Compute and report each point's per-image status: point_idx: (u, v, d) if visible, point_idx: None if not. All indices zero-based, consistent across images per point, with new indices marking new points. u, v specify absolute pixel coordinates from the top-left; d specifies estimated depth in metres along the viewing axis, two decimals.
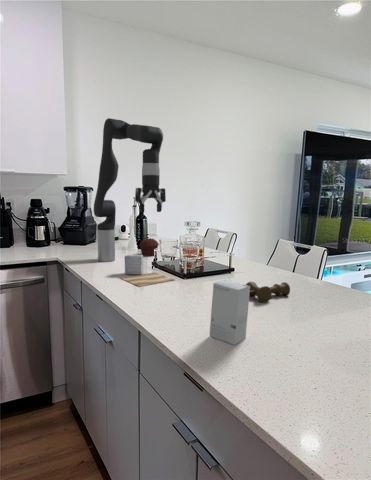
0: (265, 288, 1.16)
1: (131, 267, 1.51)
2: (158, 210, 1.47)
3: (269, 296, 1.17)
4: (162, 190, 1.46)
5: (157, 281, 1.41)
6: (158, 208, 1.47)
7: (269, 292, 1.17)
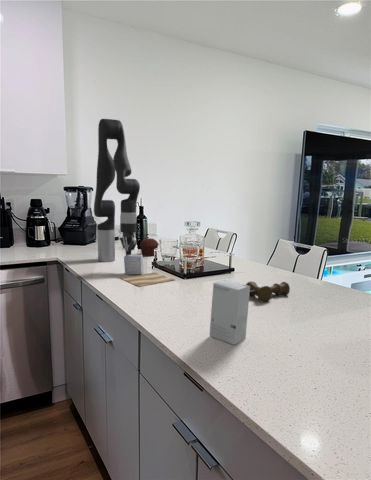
0: (266, 288, 1.17)
1: (130, 268, 1.51)
2: None
3: (269, 296, 1.18)
4: None
5: (157, 281, 1.41)
6: None
7: (269, 291, 1.18)
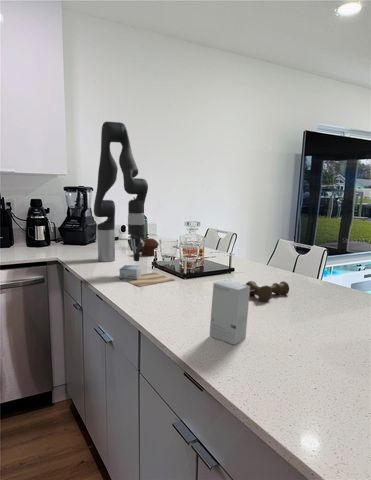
0: (266, 287, 1.17)
1: None
2: None
3: (270, 295, 1.18)
4: None
5: (157, 281, 1.41)
6: None
7: (269, 291, 1.18)
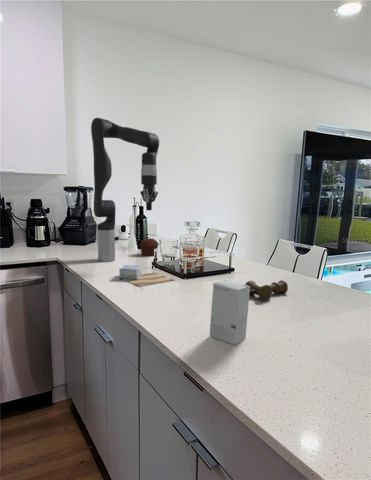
0: (266, 287, 1.18)
1: None
2: None
3: (270, 294, 1.19)
4: None
5: (157, 281, 1.41)
6: None
7: (270, 290, 1.19)
